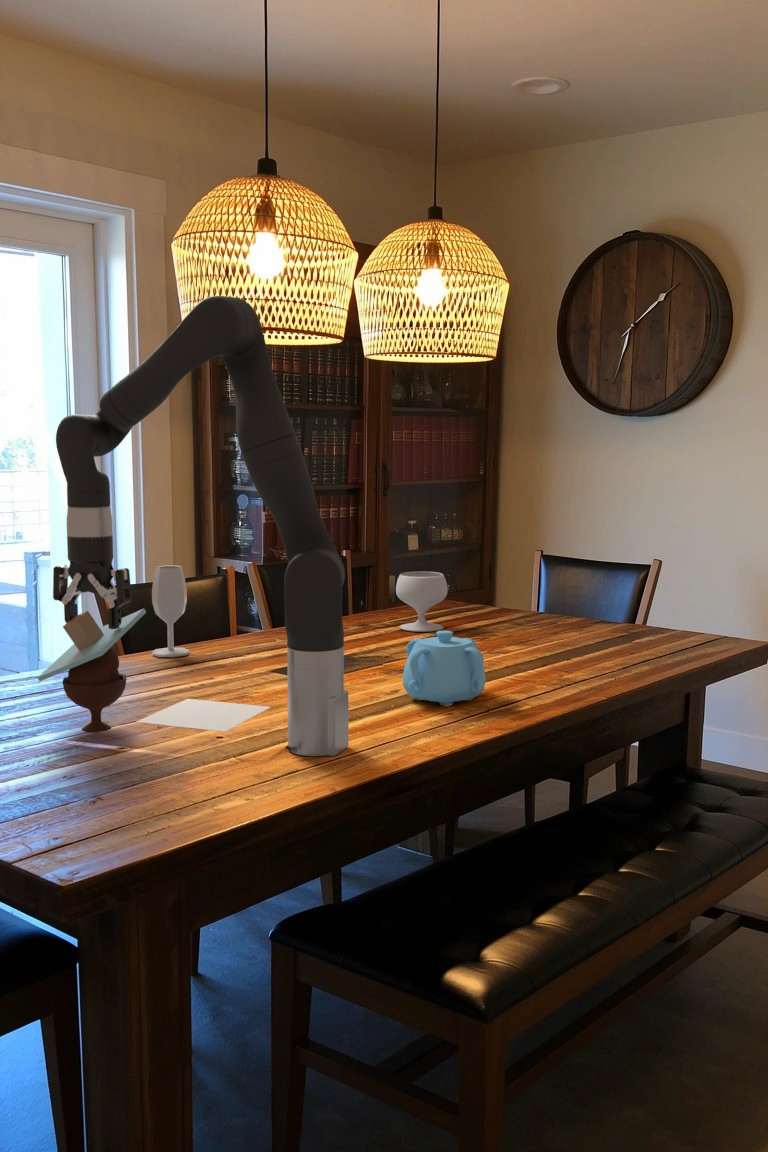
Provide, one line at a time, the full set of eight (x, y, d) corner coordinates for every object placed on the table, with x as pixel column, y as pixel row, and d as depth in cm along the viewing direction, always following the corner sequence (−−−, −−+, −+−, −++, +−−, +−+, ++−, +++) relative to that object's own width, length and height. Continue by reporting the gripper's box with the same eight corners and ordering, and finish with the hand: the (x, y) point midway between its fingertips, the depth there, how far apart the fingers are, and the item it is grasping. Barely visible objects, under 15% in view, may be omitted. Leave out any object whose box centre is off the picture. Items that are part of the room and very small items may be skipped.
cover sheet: (146, 612, 183) (128, 584, 181) (102, 655, 170) (82, 625, 169) (86, 638, 190) (68, 612, 188) (39, 681, 177) (20, 653, 175)
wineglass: (186, 650, 253) (185, 564, 250) (192, 657, 245) (190, 568, 242) (150, 652, 250) (148, 565, 248) (154, 659, 242) (151, 569, 239)
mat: (271, 710, 197) (271, 706, 197) (225, 735, 180) (225, 731, 180) (187, 701, 203) (187, 698, 203) (135, 725, 186) (135, 721, 186)
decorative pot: (485, 711, 197) (487, 640, 196) (400, 708, 199) (401, 638, 197) (484, 690, 213) (485, 625, 212) (406, 688, 215) (406, 623, 213)
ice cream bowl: (102, 720, 190) (100, 638, 188) (141, 730, 183) (139, 646, 181) (51, 732, 181) (48, 647, 180) (89, 744, 174) (86, 656, 172)
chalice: (444, 624, 290) (444, 570, 288) (449, 633, 276) (450, 577, 274) (394, 624, 289) (394, 570, 287) (397, 633, 275) (397, 577, 273)
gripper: (138, 532, 179) (140, 626, 181) (68, 530, 183) (71, 621, 186) (112, 536, 172) (115, 633, 174) (41, 533, 176) (44, 628, 179)
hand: (92, 627), depth 180 cm, fingers open, 8 cm apart
